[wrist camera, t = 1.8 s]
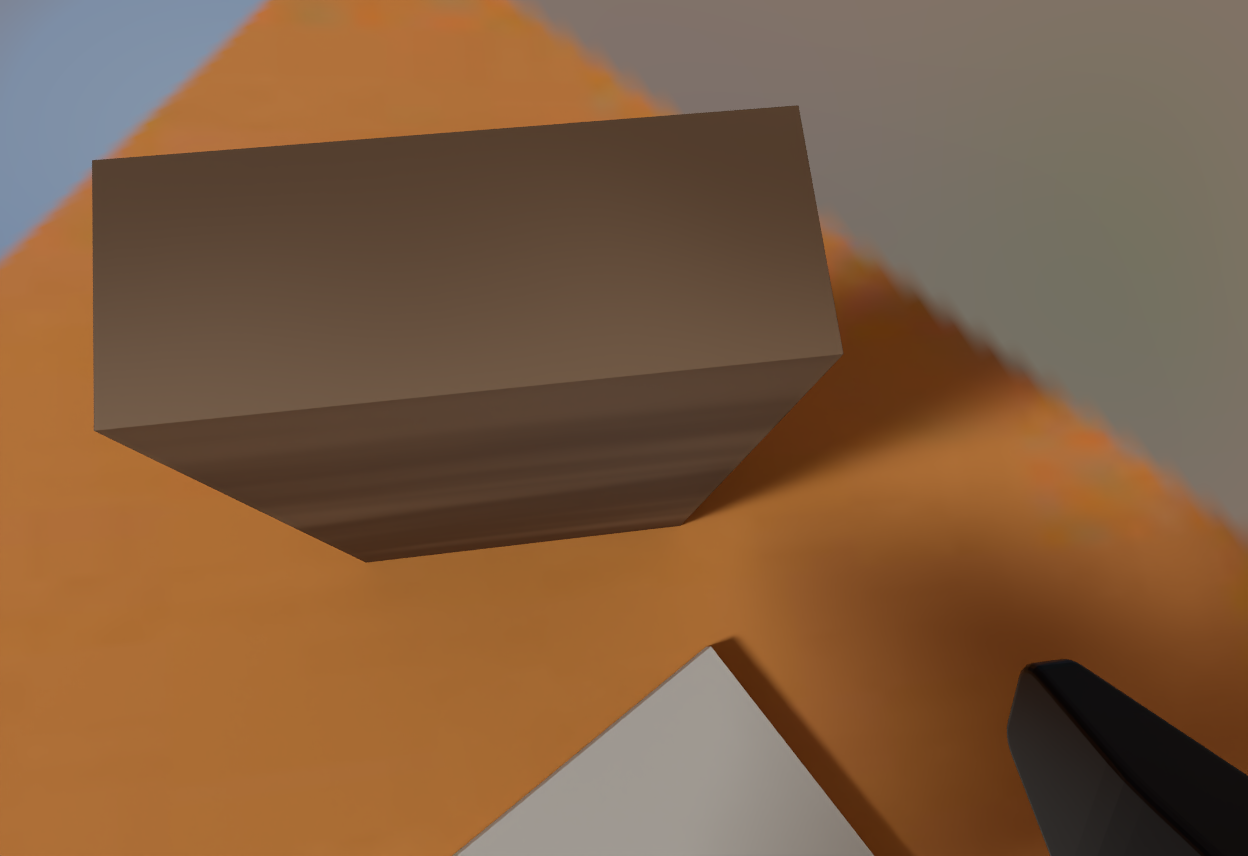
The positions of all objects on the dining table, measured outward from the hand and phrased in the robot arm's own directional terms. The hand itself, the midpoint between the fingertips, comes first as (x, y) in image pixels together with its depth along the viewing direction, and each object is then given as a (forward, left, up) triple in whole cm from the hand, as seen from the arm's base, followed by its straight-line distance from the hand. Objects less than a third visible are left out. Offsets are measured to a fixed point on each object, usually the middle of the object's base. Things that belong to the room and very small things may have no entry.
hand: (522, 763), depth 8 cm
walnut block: (+4, -2, -11) cm, 12 cm away
